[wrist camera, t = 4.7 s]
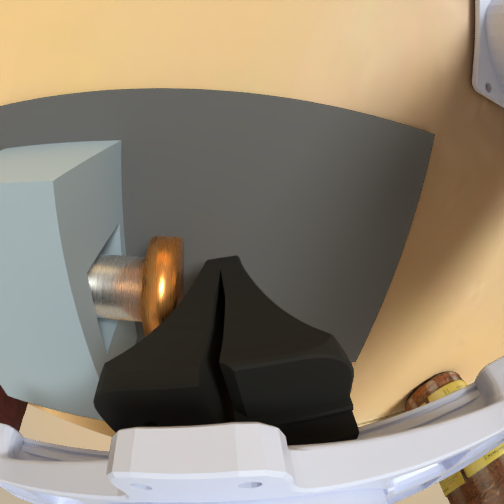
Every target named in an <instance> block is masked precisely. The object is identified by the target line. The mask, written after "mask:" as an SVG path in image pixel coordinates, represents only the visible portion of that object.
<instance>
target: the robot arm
mask: <svg viewBox="0 0 504 504" xmlns="http://www.w3.org/2000/svg"><path fill="white" fill-rule="evenodd" d="M472 85H473V88H474V90H475V91H476V92H478V93H479V94H481V95H483V96H485V97H486V98H488V99H490V100H491V101H493V102H494V103H496V104H498V105H499V106H501V107H502V108H504V0H475V49H474V63H473V74H472ZM485 85H486V87H485ZM353 377H354V369H353V367H352V364H351V362H350V360H349V358H348V356H347V354H346V353H345V351H344V349H343V348H342V346H341V345H340V343H339V342H338V341H337V339H336V338H335V337H334V335H332V334H330V333H327V332H325V331H322V330H319V329H317V328H314V327H312V326H310V325H308V324H306V323H304V322H302V321H300V320H298V319H297V318H295V317H293V316H292V315H290V314H289V313H287V312H286V311H284V310H283V309H282V308H280V307H279V306H278V305H276V304H275V303H274V302H273V301H272V300H271V299H270V298H269V297H267V296H266V295H265V294H264V293H263V291H262V290H261V289H260V288H259V287H258V286H257V285H256V284H255V282H254V281H253V280H252V279H251V277H250V276H249V275H248V273H247V272H246V270H245V268H244V267H243V265H242V263H241V260H240V257H238V256H237V255H235V256H229V257H222V258H216V259H210V260H207V261H206V262H205V264H204V266H203V268H202V269H201V271H200V273H199V275H198V276H197V278H196V280H195V281H194V283H193V284H192V286H191V287H190V289H189V291H188V292H187V293H186V295H185V296H184V297H183V299H182V300H181V302H180V303H179V304H178V306H177V307H176V308H175V309H174V310H173V311H172V313H171V314H170V315H169V316H168V317H167V318H166V319H165V320H164V321H163V322H162V323H161V324H160V325H158V326H157V327H156V328H155V329H154V330H153V331H152V332H151V333H150V334H148V335H147V336H146V337H145V338H143V339H142V340H141V341H139V342H138V343H137V344H135V345H134V346H132V347H131V348H130V349H128V350H126V351H125V352H123V353H122V354H120V355H118V356H116V357H115V358H113V359H111V360H110V361H108V362H106V363H105V364H104V366H103V369H102V372H101V374H100V378H99V382H98V385H97V389H96V393H95V396H94V400H93V403H94V407H95V409H96V411H97V412H98V414H99V415H100V416H101V417H102V418H103V420H104V421H105V422H106V423H107V424H108V425H109V426H110V427H111V428H112V429H113V430H114V431H115V432H116V433H115V434H114V435H113V437H112V440H111V446H110V452H106V451H97V450H89V449H80V448H73V447H67V446H62V445H56V444H51V443H45V442H40V441H36V440H32V439H27V438H24V437H23V436H22V435H21V434H20V433H19V432H18V431H17V430H16V429H14V428H13V427H11V426H9V425H6V424H2V423H0V487H1V488H3V489H4V490H6V491H8V492H9V493H11V494H13V495H14V496H16V497H18V498H20V499H23V500H25V501H28V502H31V503H33V504H393V503H396V502H398V501H400V500H403V499H405V498H407V497H410V496H411V495H414V494H416V493H418V492H420V491H422V490H424V489H426V488H428V487H430V486H432V485H434V484H436V483H438V482H440V481H442V480H444V479H446V478H447V477H449V476H451V475H453V474H454V473H456V472H458V471H460V470H461V469H463V468H465V467H466V466H468V465H470V464H471V463H473V462H474V461H476V460H478V459H479V458H481V457H482V456H484V455H485V454H487V453H488V452H490V451H491V450H493V449H494V448H496V447H497V446H499V445H500V444H502V443H503V442H504V356H502V357H501V358H499V359H497V360H495V361H493V362H491V363H490V364H488V365H486V366H485V367H484V368H483V369H482V370H481V371H480V372H479V374H478V376H477V377H476V379H475V382H474V383H472V384H470V385H468V386H466V387H464V388H462V389H460V390H457V391H455V392H453V393H451V394H449V395H447V396H444V397H442V398H440V399H437V400H435V401H433V402H430V403H428V404H425V405H423V406H420V407H418V408H415V409H413V410H410V411H407V412H405V413H402V414H399V415H396V416H393V417H390V418H387V419H384V420H381V421H378V422H375V423H372V424H368V425H365V426H362V427H358V426H357V423H356V421H355V418H354V415H353V412H352V410H353V404H352V401H351V398H350V392H351V387H352V383H353Z"/></svg>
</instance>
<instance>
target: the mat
mask: <svg viewBox="0 0 504 504" xmlns="http://www.w3.org/2000/svg"><path fill="white" fill-rule="evenodd" d="M434 136H435V134H432V133H429V132H426V131H423V130H420V129H417V128H414V127H411V126H407V125H404V124H401V123H397V122H394V121H391V120H387V119H383V118H380V117H376V116H372V115H368V114H364V113H360V112H356V111H352V110H348V109H343V108H339V107H334V106H329V105H324V104H319V103H314V102H308V101H302V100H296V99H290V98H284V97H277V96H269V95H261V94H252V93H243V92H232V91H219V90H203V89H170V88H152V89H121V90H105V91H92V92H82V93H73V94H65V95H58V96H51V97H44V98H38V99H33V100H27V101H22V102H17V103H12V104H8V105H3V106H0V151H1V150H3V149H6V148H14V147H22V146H31V145H41V144H53V143H66V142H84V141H112V140H121V177H122V206H123V223H124V237H125V249H126V256H137V257H146V253H147V249H148V246H149V243H150V241H151V239H152V237H153V236H171V237H182V238H183V242H184V295H183V297H184V296H185V295H186V293H187V292H188V291H189V289H190V287H191V286H192V284H193V283H194V281H195V280H196V278H197V276H198V275H199V273H200V271H201V269H202V268H203V266H204V264H205V262H206V261H207V260H210V259H216V258H222V257H229V256H235V255H237V256H238V257H240V260H241V263H242V265H243V267H244V268H245V270H246V272H247V273H248V275H249V276H250V277H251V279H252V280H253V281H254V282H255V284H256V285H257V286H258V287H259V288H260V289H261V290H262V291H263V293H264V294H265V295H266V296H267V297H269V298H270V299H271V300H272V301H273V302H274V303H275V304H276V305H278V306H279V307H280V308H282V309H283V310H284V311H286V312H287V313H289V314H290V315H292V316H293V317H295V318H297V319H298V320H300V321H302V322H304V323H306V324H308V325H310V326H312V327H314V328H317V329H319V330H322V331H325V332H327V333H330V334H332V335H334V337H335V338H336V339H337V341H338V342H339V343H340V345H341V346H342V348H343V349H344V351H345V353H346V354H347V356H348V358H349V360H350V362H356V360H357V358H358V356H359V354H360V352H361V350H362V347H363V345H364V343H365V341H366V339H367V337H368V335H369V333H370V330H371V328H372V326H373V324H374V322H375V319H376V317H377V315H378V312H379V310H380V308H381V305H382V303H383V301H384V298H385V296H386V293H387V291H388V288H389V286H390V283H391V281H392V278H393V276H394V273H395V270H396V268H397V265H398V262H399V259H400V257H401V254H402V251H403V248H404V245H405V242H406V239H407V236H408V233H409V230H410V227H411V224H412V221H413V218H414V214H415V211H416V208H417V204H418V201H419V197H420V194H421V190H422V187H423V183H424V179H425V175H426V171H427V167H428V163H429V159H430V154H431V150H432V145H433V141H434ZM135 327H136V333H137V339H136V343H135V344H137V343H138V342H139V341H141V340H142V339H143V338H145V335H144V330H143V323H142V322H137V321H135Z"/></svg>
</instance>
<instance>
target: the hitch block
mask: <svg viewBox="0 0 504 504" xmlns="http://www.w3.org/2000/svg"><path fill="white" fill-rule="evenodd" d="M98 254H105V255H121V256H126V249H125V237H124V223H123V206H122V177H121V140H112V141H84V142H66V143H53V144H41V145H31V146H22V147H14V148H6V149H3V150H1V151H0V385H1V386H2V388H3V389H4V391H5V392H6V394H7V395H8V396H10V397H13V398H16V399H19V400H22V401H25V402H28V403H32V404H35V405H38V406H42V407H46V408H49V409H53V410H57V411H61V412H65V413H69V414H74V415H78V416H83V417H88V418H93V419H98V420H103V418H102V417H101V416H100V415H99V414H98V412H97V411H96V409H95V407H94V403H93V400H94V396H95V393H96V389H97V385H98V382H99V378H100V374H101V372H102V369H103V366H104V364H105V363H106V362H108V361H110V360H111V359H113V358H115V357H116V356H118V355H120V354H122V353H123V352H125V351H126V350H128V349H130V348H131V347H132V346H134V345H135V343H136V339H137V333H136V327H135V321H127V320H117V319H107V318H98V317H97V316H96V312H95V308H94V304H93V299H92V295H91V290H90V285H89V280H88V275H87V272H88V270H89V269H90V267H91V265H92V264H93V262H94V261H95V259H96V257H97V256H98ZM103 421H104V420H103Z"/></svg>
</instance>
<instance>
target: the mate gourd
mask: <svg viewBox="0 0 504 504" xmlns="http://www.w3.org/2000/svg"><path fill="white" fill-rule="evenodd" d="M27 404H28V402H25V401H22V400H19V399H16V398H13V397H10V396H8V395H7V394H6V392H5V391H4V389H3V388H2V386H1V385H0V423H2V424H6V425H9V426H11V427H13V428H14V429H16V430H17V431H18V432H19V430H20V426H21V422H22V419H23V416H24V414H25V411H26V407H27Z"/></svg>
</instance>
